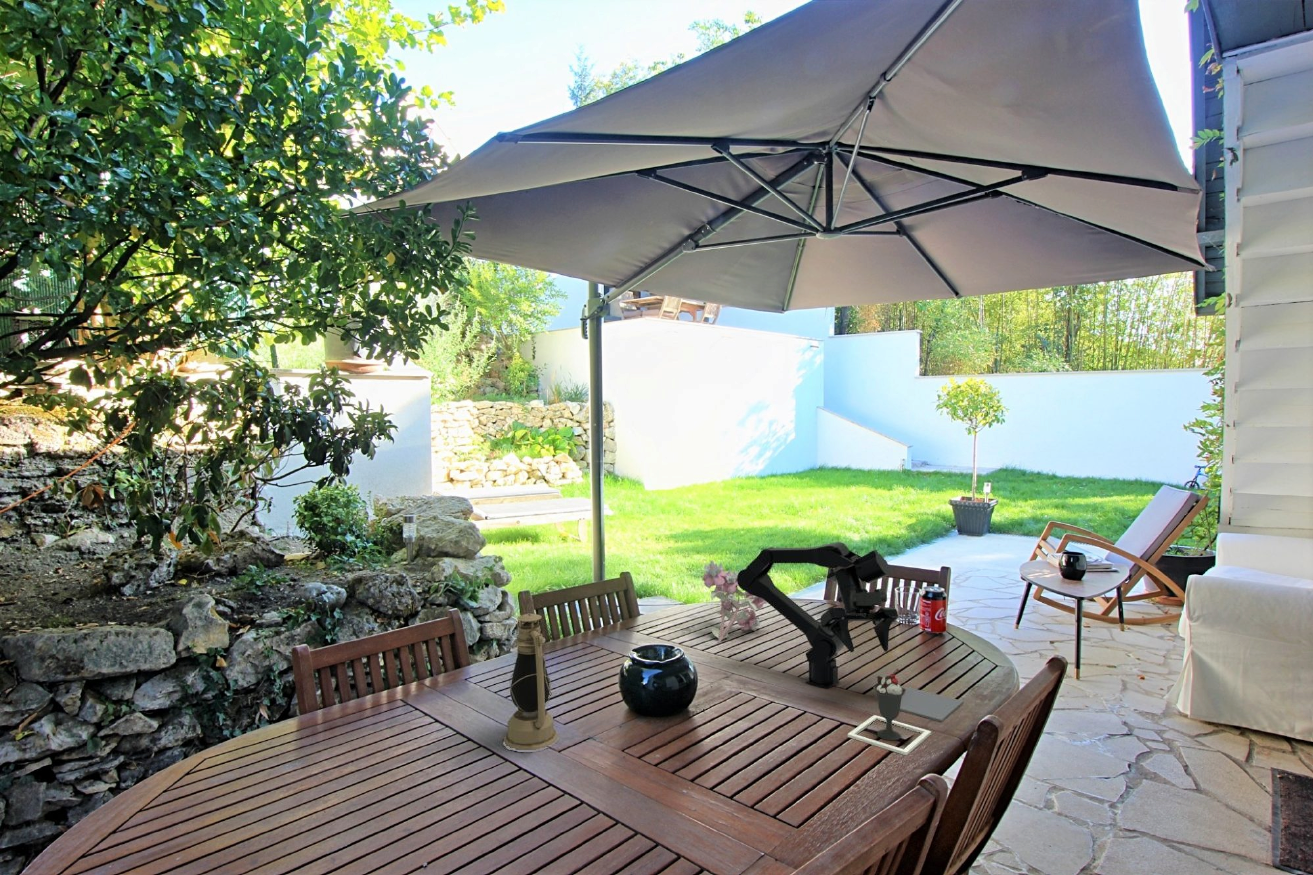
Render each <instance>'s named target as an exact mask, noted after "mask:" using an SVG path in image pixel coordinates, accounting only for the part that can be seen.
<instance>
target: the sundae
mask: <svg viewBox="0 0 1313 875" xmlns="http://www.w3.org/2000/svg"><path fill="white" fill-rule="evenodd" d="M899 671H900V669H898V668H896V669H895V671H894V672H893V673H890V674H889V675H886V676H884V677H883V676H880V675H877V676H876V678H877V681H876V682H877V684H875V685H873V686H872V687H873V688H872V689H873V691H874V692H875V693H876V696H877V704H878V711H879V714H880V715H881V717H883V718H885V719H886V723H885V726H886V727H885V729H881V730H878V731H879V732H878V731H877V733H876V734H877V736H878V737H879V738H880V739H882V740H887V741H898V740H900V739H901V738H902V735H901V733H899V732H898V731H895V730H893V725H892V720H894V721H895V720H896V719H897V718H898V717H899V715H900V712H901V711H900V706H901V699H902V696H903V695H904V694H905V692H906V689H904V688H905V687H902V686H901V685H900V683H899V680H898V679H897V678H896V674H897V673H898V672H899Z"/></svg>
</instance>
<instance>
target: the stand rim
mask: <svg viewBox="0 0 1313 875" xmlns="http://www.w3.org/2000/svg"><path fill="white" fill-rule="evenodd" d="M876 719H878V720H880V721H879V722H881V721H884V722H886V719H885V718H884V717H883V716H879V715H875V714H874V715H872V716H871V717H869V718H868V719H866V720H865V721H864V722H862V723H861V724H859V725H858V726H857V727H856V728H854V729H852V730H851V731H850V732H848V733H847V738H850V739H853V740H857V741H859V742H862V743H865V744H869V745H872V746H876V747H879V748H880V749H881V748H882V749H884V750H888V751H891V752H895V753H897V754H901V755H903V756H908V755H909V754H910V753H912V751H913V750H915V749H916V748H917V747H918V746H920V745H921V744H922V743H923V742H924V741H925V740H926V739H927V738H928V737H930V735H932V731H931V730H928V729H924V728H921V727H917V726H914V725H910V724H907V723H903V722H900V721H897V720H895V719H894V720H892V724H894V725H893V726H895V725H897V726H896V727H898V726H900V727H899V728H902V727H904V728H903V729H905V728H906V729H905V730H908V729H909V731H912V732H915V731H916V733H919V732H920V735H919V736H918V737H916V738H915V739H914V740H913V741H912V742H911V743H910V744H908V745H907V746H906V747H905V748H901V747H897V746H894V745H890V744H888V743H885V742H881V741H878V740H875V739H871V738H868V737H865V736H862V735H859V733H861V732H862V731H864V730H865V729H866V728H868V727H869V726H871V725H872V724H873V723H874V722H873V721H875V720H876ZM878 720H876V721H878ZM876 721H875V722H876ZM872 722H873V723H872ZM884 722H883V723H884ZM871 723H872V724H871ZM870 724H871V725H870ZM868 725H869V726H868ZM867 726H868V727H867Z"/></svg>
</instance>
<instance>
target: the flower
mask: <svg viewBox="0 0 1313 875" xmlns="http://www.w3.org/2000/svg"><path fill="white" fill-rule="evenodd" d="M703 568H704V569H705V572H704V573H703V575H702V581H703V584H704V586H705V587H707V588H709V589H711V587H713V586H715V588H714V590H711V591H710V599H711V601H714V598H717V599H720V600H719V601H718V603H720V602H721V604H720V606H721V607H720V610H719V611H718V612H717V613H716V615H721V623H720V628H719V627H714V626H712V627H711V632H712V635H713V636H714V637H716V638H717V639H718V640H717V642H718V643H720V642H721V641H722V640H724V639H725V638H726V639H729V637H730V636H729V632H730V630H731V629H732V627H733V625H734V624H735V622H737V625H738V626H739V627H740V629H741V630H742V631H743V632H744V631H749V630H752V632H753V631H758V630H757V628H758V627H759V626H760V625H761V622H760V619H761V618H760V617H759V616H757V615H756V610H757V609H758V610H761V609H762V608H763V606H764V605H766V604H767V602H766V601H765V600H764V599H762V598H759V597H756V596H754V595H751V594H749V593H748V592H746V591H744V590H743V589H741V590H742V591H741V590H740V588H739V585H738V582H737V576H738V573H739V571H738V570H736V571H735V570H733V571H731V567H729V568H728V569H729V570H727V571H725V569H724V568H723V564H722V562H720V563H719V564H718V566H717V563H715V562H714V561H713V560H711V559H710V561H709V564H708V563H707V564H705V563H704V567H703ZM735 594H737V596H736V595H735ZM740 596H743V597H744V598H745V599H744V600H743V601H741V603H740ZM736 597H738V598H737V599H736ZM751 600H752V601H751ZM746 607H749V608H750V609H748V608H746ZM740 608H743V609H742V610H741V611H739V609H740ZM733 609H735V611H734V610H733ZM725 617H726V618H727V619H728V620H729V622H728V623H727V625H726V626H725ZM724 627H725V628H724Z"/></svg>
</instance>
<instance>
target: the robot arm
mask: <svg viewBox="0 0 1313 875" xmlns="http://www.w3.org/2000/svg"><path fill="white" fill-rule="evenodd" d="M775 564H812V565H815V566H819V567H821V568H822V567H823V568H828V569H830V572H829V573H828V574H827V576H826V579H828V580H831V581H832V582H836V585H837V588H838V591H839V595H840V597H839V598H838V601H839V603H841V604H842V605H843V607H829V608H828V609H827V610H825V611H824V612H823V613H822V615H821V616H820V618H819V619H820V620H817V619H815V617H813V616H811V614H810V613H808V612H807V611H805V610H804V609H803V608H802V607H801V606H800V605H798V604H797V603H796V602H794V600H792V599H791V598H790V597H789V596H787V595H786V594H785V593H784V592H783V591H782V590H780V589H779V588H778V587H776V585H775V584H774V581H773V580H772V578H771V576H770V575H769V574H768V573H769V572H770V571H771V569H772V568H773V566H774V565H775ZM840 567H841V568H840ZM836 568H838V569H836ZM890 573H891V569H890V566H889V563H888V561H887V559H885V558H884V557H883V556H882V554H880V553H879V552H878V550H877V549H873V550H871V551H869V552H868V553H867V554H864V555H862V556H861V555H860V554H858V553H856V552H854V551H852V550H850V549H849V548H848V546H847V545H846V544H845V543H844V542H841V541H837V542H836V541H835V542H831V543H826V544H822V545H817V546H813V547H811V546H810V547H774V546H773V547H772V546H771V547H767V548H764V549H762V550H761V551H760V553H759V554H758V555H757V557H755V558H754V560H752V561H751V562H750V563H749V564H748V565H747V566H746V568H744V569H742V570H740V571H738V576H737V582H738V585H739V586H738V588H739V589H741V590H742V589H743V590H744V591H743V590H742V591H743V592H748V593H749V594H751V595H754V596H756V597H759V598H762V599H764V600H765V601H766V604H768V605H769V606H770V607H772V608H773V609H774V610H775V611H777V612H778V613H779V614H780V615H781V616H782V617H784V618H785V619H786V620H788V621H789V622H790V623H791V624H792V625H793V626H795V627H796V628H797V629H798V630H799V631H801V633H803V634H804V636H805V637H806V639H807V641H808V643H809V645H810V647H811V648H810V649H809V650H808V651H807V652H805V657H806V660H807V662H808V678H807V679H805V683H806V684H810V685H814V686H816V687H821V688H823V689H830V688H831V687H834V685H835V686H836V684H838V683H840V679H839V667H838V666H837V659H835V657H837V656H838V654H839V652H840V651H841V650H842V649H844V647H845V648H846V649H847V650H848V651H849V652H850V653H854V652H855V649H854V643H853V640H852V637H851V633H850V629H849V622H859V621H860V622H869V621H870V622H872V624H873V625H874V627H873V630H874V632H875V635H876V638H877V639H878V641H879V644H880V646H881V648H882V650H883V651H884V652H888V651H889V635H890V627H891V625H893V624H894V623H895V622H896V621H897V620H898V619H899V618H900V616H899V613H898V610H897V609H896V608H895V607H880V606H883V603H886V602H887V601H888V595H887V592H886V590H885V588H875V589H874V591H868V590H867V589H866V588H863V584H862V583H863V582H865V583H866V584H871V583H873V582H876V581H878V580H880V579H882V578H885V577H887V576H890V575H891V574H890ZM875 606H879V607H880V608H879V609H877V610H876V611H875V612H871V611H873V610H875V608H876V607H875Z"/></svg>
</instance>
